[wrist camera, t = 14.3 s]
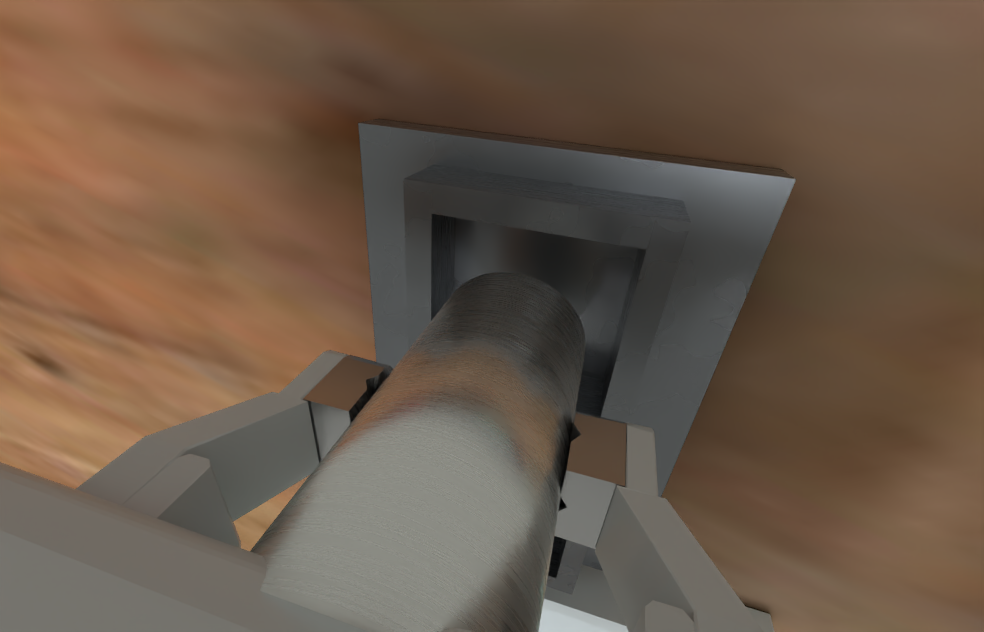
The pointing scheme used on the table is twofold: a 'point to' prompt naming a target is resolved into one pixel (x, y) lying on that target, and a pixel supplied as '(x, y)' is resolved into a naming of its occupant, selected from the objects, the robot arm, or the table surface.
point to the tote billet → (444, 475)
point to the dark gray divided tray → (574, 259)
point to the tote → (596, 607)
